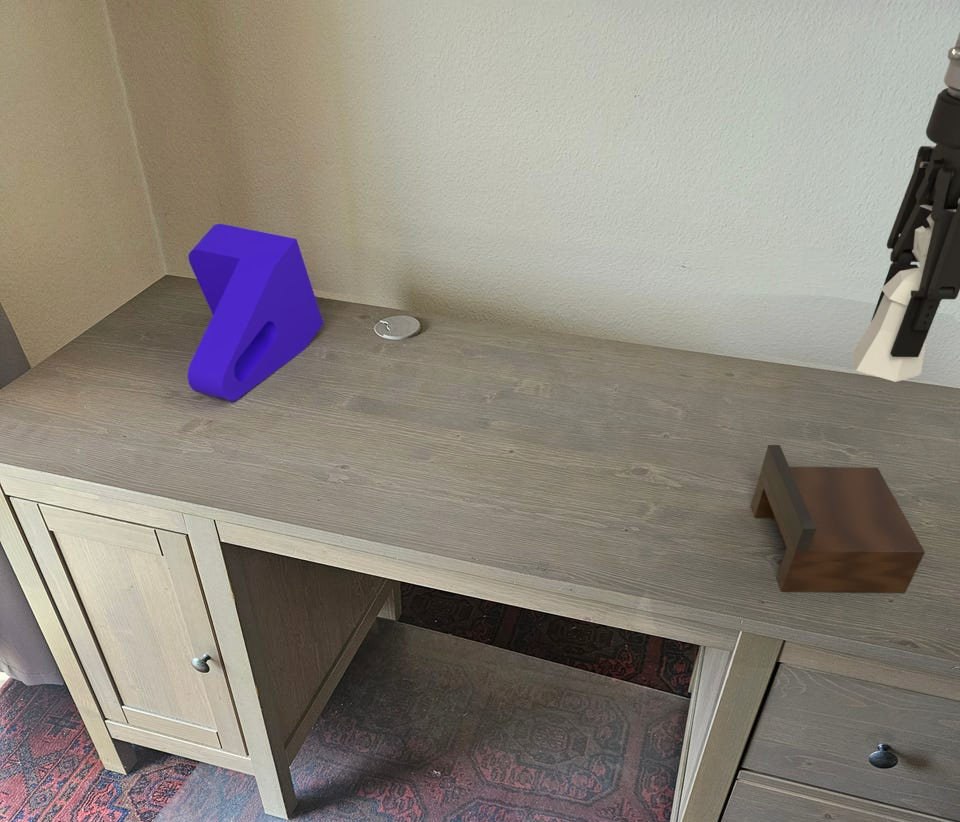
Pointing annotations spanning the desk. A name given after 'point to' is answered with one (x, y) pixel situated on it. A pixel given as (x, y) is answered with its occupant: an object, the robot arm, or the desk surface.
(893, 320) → the figurine
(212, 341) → the bracket
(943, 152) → the robot arm
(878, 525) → the brown wooden block
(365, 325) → the desk surface
